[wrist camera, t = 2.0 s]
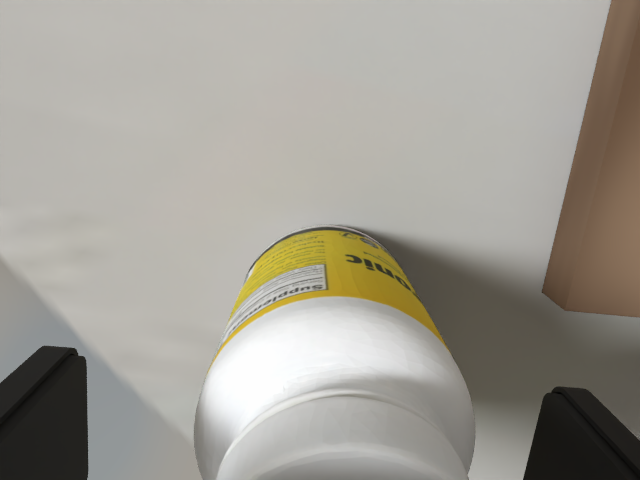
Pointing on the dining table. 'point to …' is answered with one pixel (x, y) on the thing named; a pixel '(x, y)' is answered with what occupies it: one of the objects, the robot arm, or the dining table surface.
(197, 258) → the dining table surface
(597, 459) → the robot arm
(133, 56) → the dining table surface
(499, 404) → the dining table surface
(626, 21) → the socket board
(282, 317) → the supplement bottle
